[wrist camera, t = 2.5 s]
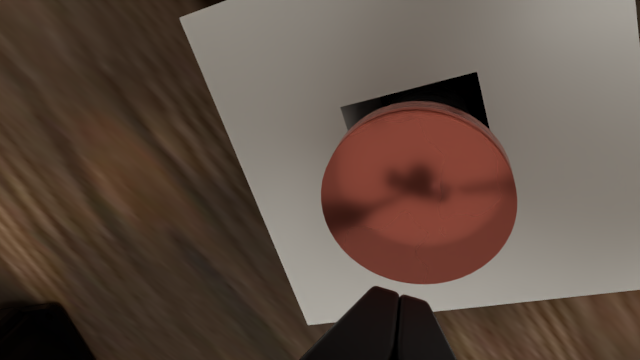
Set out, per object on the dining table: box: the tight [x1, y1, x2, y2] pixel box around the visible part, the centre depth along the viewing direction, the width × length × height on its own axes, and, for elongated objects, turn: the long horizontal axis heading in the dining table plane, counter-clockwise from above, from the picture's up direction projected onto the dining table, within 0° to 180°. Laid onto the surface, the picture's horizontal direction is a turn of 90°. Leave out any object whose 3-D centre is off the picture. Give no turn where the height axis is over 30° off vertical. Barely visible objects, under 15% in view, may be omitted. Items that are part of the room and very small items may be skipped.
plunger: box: [321, 82, 517, 284], centre depth 13 cm, size 4×4×5 cm
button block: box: [179, 0, 640, 325], centre depth 15 cm, size 10×10×5 cm
